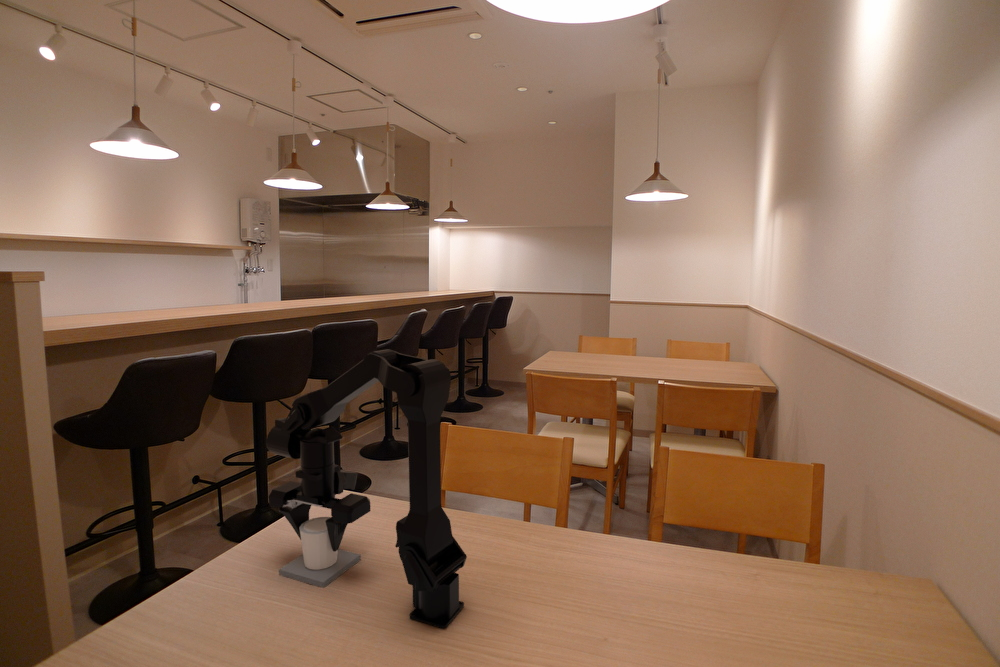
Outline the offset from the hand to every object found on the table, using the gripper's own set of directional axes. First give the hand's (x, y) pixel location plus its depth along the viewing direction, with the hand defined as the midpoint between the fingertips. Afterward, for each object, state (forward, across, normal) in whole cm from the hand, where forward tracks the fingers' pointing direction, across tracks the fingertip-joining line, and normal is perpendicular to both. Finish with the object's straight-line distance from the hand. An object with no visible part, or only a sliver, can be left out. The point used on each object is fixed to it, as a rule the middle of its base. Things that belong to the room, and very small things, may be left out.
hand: (320, 546), depth 97 cm
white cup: (+3, 0, 0) cm, 3 cm away
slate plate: (+4, 0, 0) cm, 4 cm away
